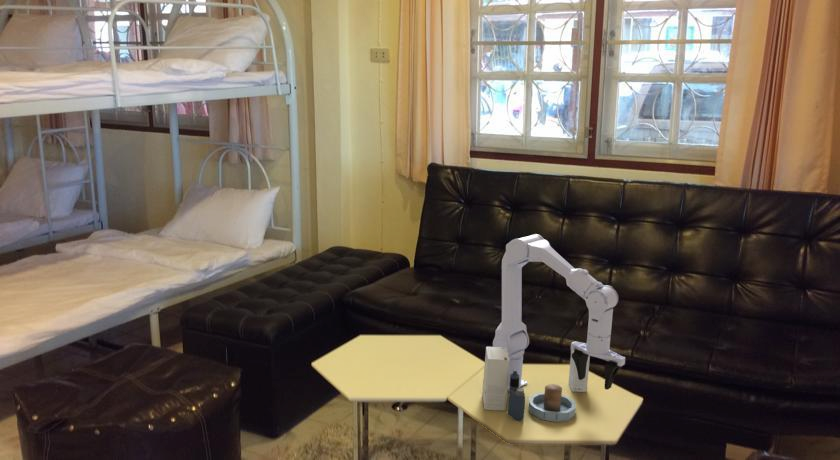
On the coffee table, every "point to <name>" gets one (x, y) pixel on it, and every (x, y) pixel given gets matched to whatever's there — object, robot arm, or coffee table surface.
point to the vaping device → (516, 398)
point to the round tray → (563, 415)
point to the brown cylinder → (552, 397)
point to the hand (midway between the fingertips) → (594, 383)
